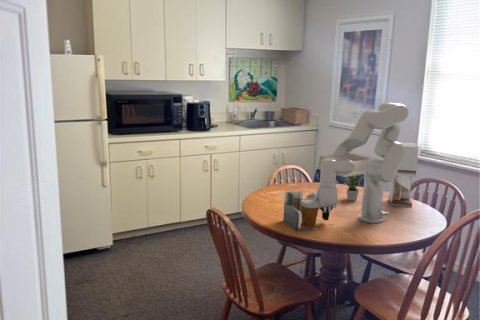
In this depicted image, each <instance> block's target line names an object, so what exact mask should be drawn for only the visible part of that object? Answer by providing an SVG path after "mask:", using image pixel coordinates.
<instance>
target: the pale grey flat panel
mask: <svg viewBox="0 0 480 320" xmlns="http://www.w3.org/2000/svg"><path fill="white" fill-rule="evenodd" d="M290 205H291V206H292V193H290ZM295 209H296V208H295ZM301 223H302V215H301V212H300V211H298V212H297V229H298V228H302V227H301Z"/></svg>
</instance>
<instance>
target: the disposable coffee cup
mask: <svg viewBox="0 0 480 320" xmlns="http://www.w3.org/2000/svg"><path fill="white" fill-rule="evenodd" d="M300 204H301V212H302V215H301V223H302V226H304V227H306V228H310V227H313V228H314V227H315V226H316V222H317V218H318V212H319V209H318V208H319V206H320V204H319V201H318V200H317V201H316V200H315V199H306V198H303V199H302V200H301V202H300Z"/></svg>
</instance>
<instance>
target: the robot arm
mask: <svg viewBox="0 0 480 320" xmlns="http://www.w3.org/2000/svg"><path fill="white" fill-rule="evenodd" d="M408 116H409V108H408V107H407V105H404V104H402V103H396V102H382V103H381V104H379V106H378V109H377V110H373V109H367V110H365V111H364V112H363V113H362V114H361V115H360V117H359V119H358V120H357V122H356V123H355V126H354V127H353V129H352V131H351V133H350V134H349V135H348V137H346V138H345V139H344V140H343V141H342V142H340V144H339V145H337V147H336V148H335V150H334V151H333V152H332V155H331V157H328V158H327V157H326V158H323V159H322V160H321V162H320V175H319V176H320V179H319V185H318V186H317V189H316V199H315V200H316V201H317V200H318V201H319V204H320V206H319V208H318V210H320V211H321V212H322V213H321V218H322V220H323V221H329V218H330V213H331V211H332V210H333V209H335V208H337V205H338V187H337V185H338V184H339V181H338V180H337V174H338V175H345V174H346V175H349V174H353V172H354V170H355V163H354V162H353V161H352V160H351V159H348V158H347V157H348V154H350V153H351V152H352V151H353V150H356V149H357V148H360V147H363V146H365V145H366V144H367V142H368V140H369V138H370V137H371V135H372V133H373V132H374V130H380V134H379V135H378V138H377V141H376V143H375V146H374V149H373V150H374V151H373V152H374V154H375V155H376V156H377V157H379V158H382V159H383V160H381V159H379V158H369V159H368V160H366V161H365V162H364V165H363V176H364V177H363V180H364V181H363V194H362V202H361V203H362V204H361V212H360V213H359V214H358V215H357V218H358V220H360V221H361V222H365V223H368V224H380V223H381V224H382V223H383V222H384V216H390V213H389V211H384V210H382V207H383V197H384V196H383V195H384V183H389V182H391V181H392V180H393V179H394V177H395V176H396V174H397V171H398V169H399V167H400V164H401V162H402V160H403V157H404V147H403V145H402V144H401V143H402V142H399V141H398V138H399V135H400V132H401V125H400V123H402V122H404V121H406V119H407V118H408Z"/></svg>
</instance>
